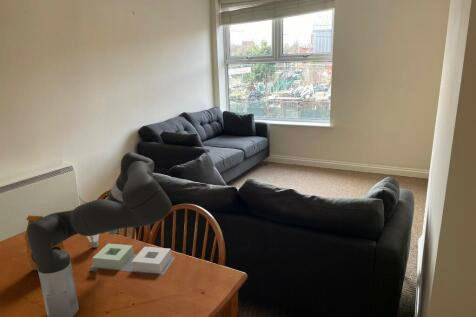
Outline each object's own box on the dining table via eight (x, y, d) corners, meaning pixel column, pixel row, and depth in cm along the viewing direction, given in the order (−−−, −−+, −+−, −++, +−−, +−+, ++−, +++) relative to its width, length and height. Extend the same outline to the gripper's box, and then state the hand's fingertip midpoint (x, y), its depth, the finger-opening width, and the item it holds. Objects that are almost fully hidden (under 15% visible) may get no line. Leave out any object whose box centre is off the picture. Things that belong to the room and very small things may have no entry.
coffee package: (50, 278, 136) (40, 224, 130) (27, 271, 141) (16, 219, 135) (72, 264, 145) (63, 213, 139) (49, 258, 150) (40, 209, 144)
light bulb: (85, 245, 159) (81, 220, 156) (102, 241, 162) (99, 217, 159) (86, 253, 153) (82, 227, 150) (104, 249, 156) (100, 223, 153)
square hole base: (175, 260, 146) (174, 248, 144) (163, 278, 134) (162, 265, 133) (107, 254, 152) (105, 242, 150) (90, 270, 140) (88, 258, 139)
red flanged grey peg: (121, 235, 139) (117, 200, 135) (104, 237, 137) (100, 203, 133) (121, 228, 144) (117, 195, 140) (105, 230, 143) (100, 197, 139)
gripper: (108, 206, 123) (95, 228, 134) (144, 194, 133) (128, 215, 144) (98, 188, 125) (86, 211, 136) (134, 177, 135) (120, 200, 146)
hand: (108, 213), depth 140 cm, fingers closed on red flanged grey peg, 3 cm apart
